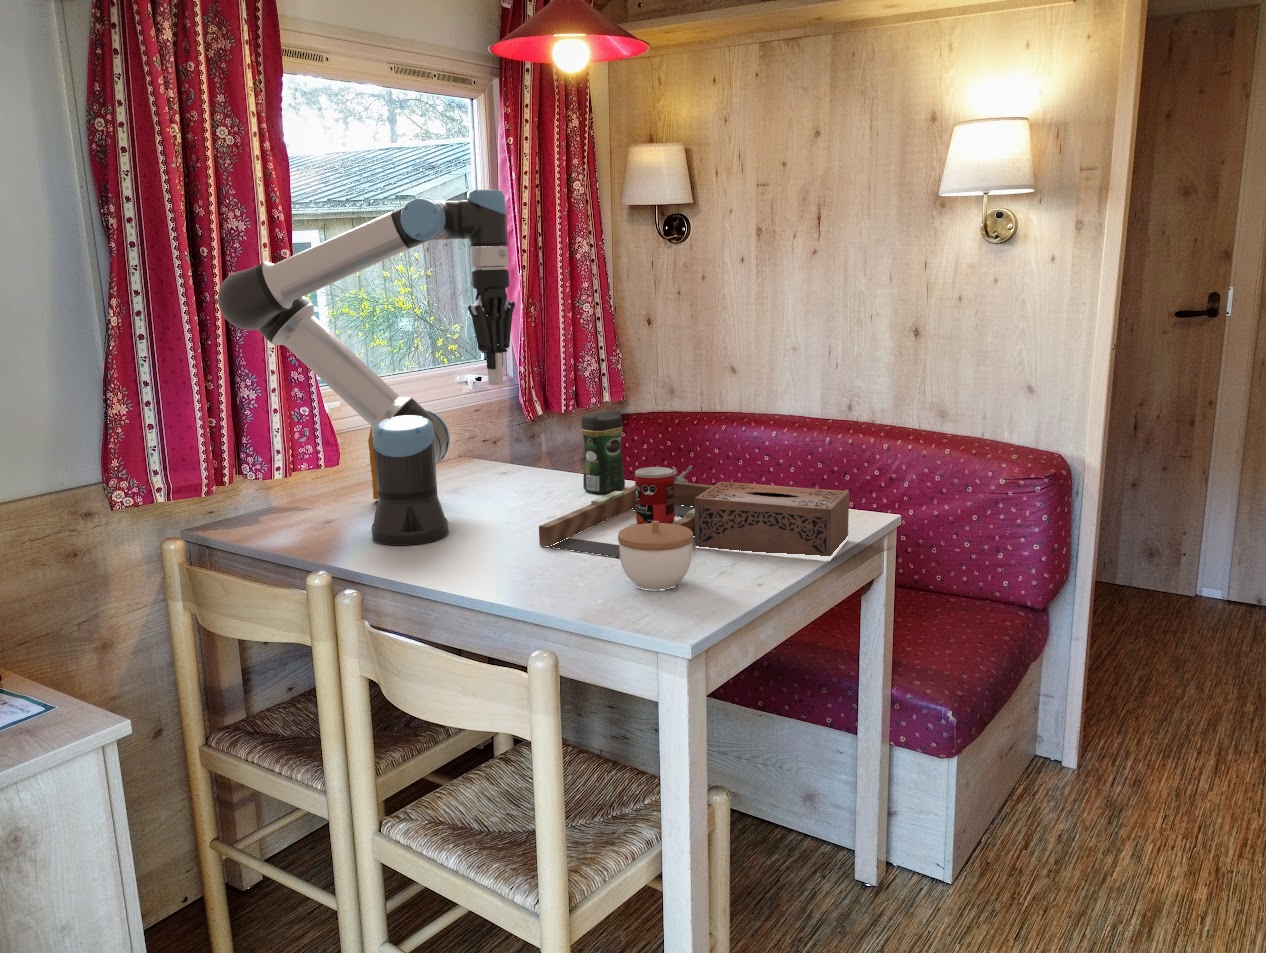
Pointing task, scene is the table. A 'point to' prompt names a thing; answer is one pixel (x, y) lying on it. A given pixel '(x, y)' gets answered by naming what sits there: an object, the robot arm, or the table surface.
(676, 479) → the grey toy figurine
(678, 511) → the pad
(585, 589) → the table surface
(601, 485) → the coffee jar
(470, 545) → the table surface
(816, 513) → the tissue box cover
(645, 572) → the lidded bowl
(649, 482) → the canned food
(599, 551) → the near trap pad
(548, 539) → the lane box
